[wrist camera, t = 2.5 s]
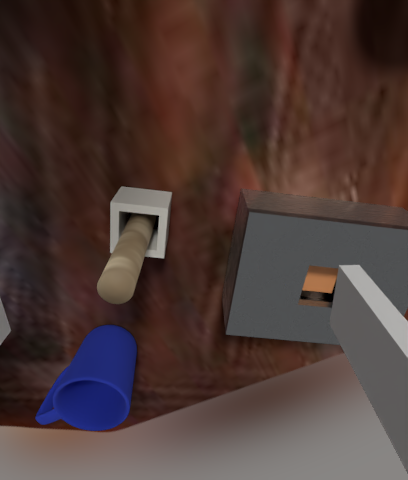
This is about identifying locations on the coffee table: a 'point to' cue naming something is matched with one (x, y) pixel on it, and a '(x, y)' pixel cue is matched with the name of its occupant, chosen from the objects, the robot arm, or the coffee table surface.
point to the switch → (320, 279)
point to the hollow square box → (144, 204)
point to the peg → (126, 260)
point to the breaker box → (306, 261)
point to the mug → (94, 382)
